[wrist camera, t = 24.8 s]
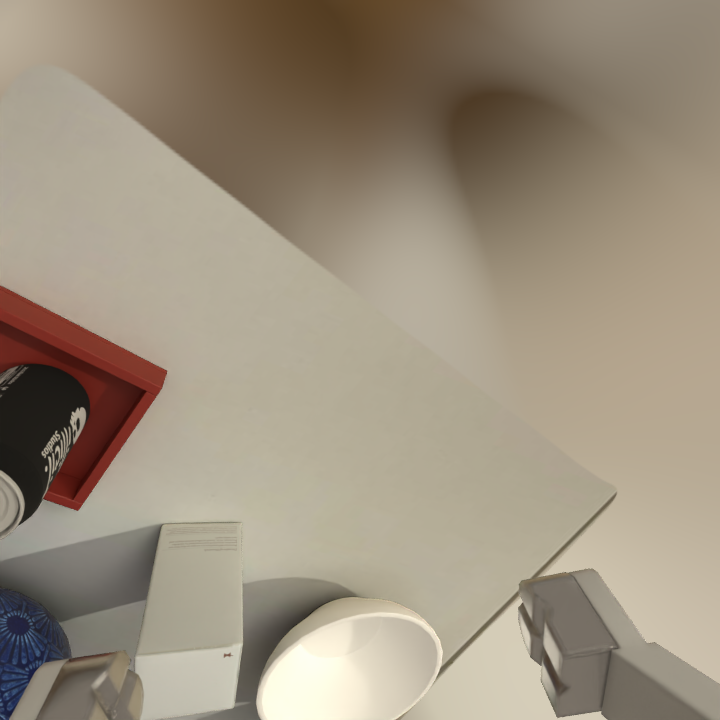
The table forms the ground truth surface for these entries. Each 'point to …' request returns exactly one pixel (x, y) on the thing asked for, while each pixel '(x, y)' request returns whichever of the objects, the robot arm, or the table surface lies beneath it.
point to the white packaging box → (192, 621)
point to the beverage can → (35, 435)
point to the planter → (25, 645)
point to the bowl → (350, 664)
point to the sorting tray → (94, 372)
